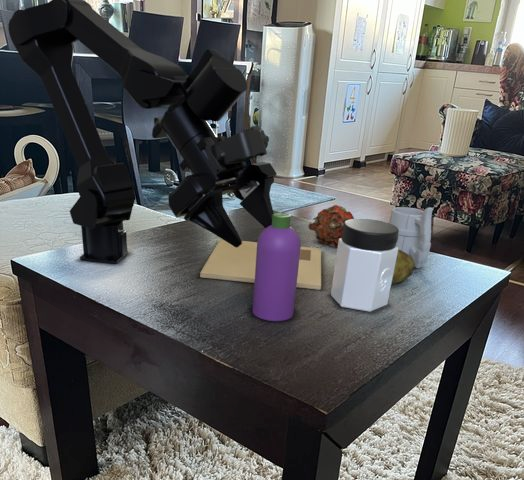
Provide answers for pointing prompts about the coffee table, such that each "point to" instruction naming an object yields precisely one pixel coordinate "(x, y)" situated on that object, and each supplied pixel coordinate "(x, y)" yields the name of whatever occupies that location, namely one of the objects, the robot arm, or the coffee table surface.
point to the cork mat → (244, 262)
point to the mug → (413, 232)
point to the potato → (402, 267)
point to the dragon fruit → (330, 224)
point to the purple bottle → (276, 270)
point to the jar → (365, 264)
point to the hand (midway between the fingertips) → (258, 238)
